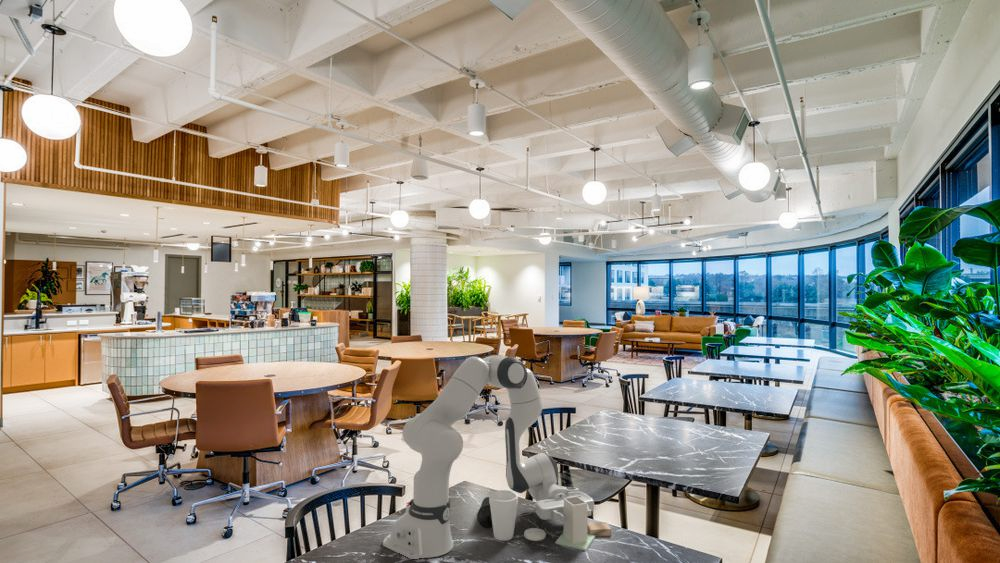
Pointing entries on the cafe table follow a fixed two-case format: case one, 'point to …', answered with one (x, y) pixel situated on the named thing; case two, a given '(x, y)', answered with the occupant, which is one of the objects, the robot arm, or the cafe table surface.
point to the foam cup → (503, 513)
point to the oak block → (599, 529)
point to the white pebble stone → (534, 534)
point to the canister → (575, 520)
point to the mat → (580, 546)
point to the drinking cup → (485, 514)
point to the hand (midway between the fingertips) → (577, 516)
